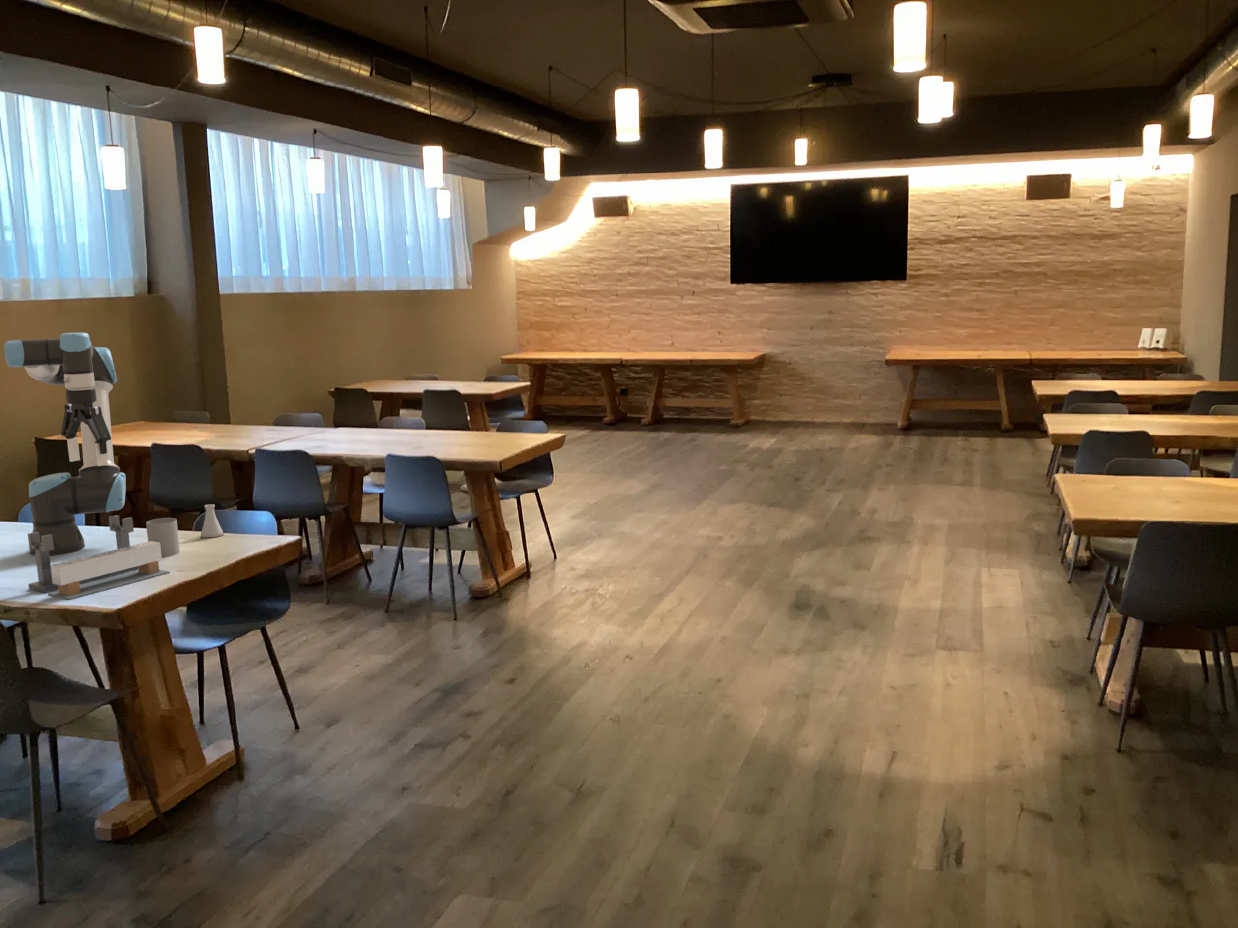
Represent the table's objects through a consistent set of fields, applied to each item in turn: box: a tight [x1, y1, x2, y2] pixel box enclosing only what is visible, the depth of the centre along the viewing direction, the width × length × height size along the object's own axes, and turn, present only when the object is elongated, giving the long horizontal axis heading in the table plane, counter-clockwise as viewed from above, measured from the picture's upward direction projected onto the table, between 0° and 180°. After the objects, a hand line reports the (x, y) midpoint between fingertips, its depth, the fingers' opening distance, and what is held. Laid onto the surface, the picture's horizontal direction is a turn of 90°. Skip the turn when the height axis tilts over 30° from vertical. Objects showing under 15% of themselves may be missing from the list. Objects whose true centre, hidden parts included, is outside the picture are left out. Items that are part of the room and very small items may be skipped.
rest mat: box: [47, 561, 171, 601], centre depth 288 cm, size 10×29×3 cm, turn 147°
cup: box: [145, 517, 181, 558], centre depth 319 cm, size 8×8×10 cm
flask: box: [200, 503, 224, 538], centre depth 341 cm, size 7×7×10 cm
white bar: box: [51, 541, 163, 586], centre depth 287 cm, size 4×29×5 cm, turn 147°
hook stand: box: [27, 514, 139, 594], centre depth 293 cm, size 8×28×15 cm, turn 147°
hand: (88, 463), depth 301 cm, fingers open, 13 cm apart
